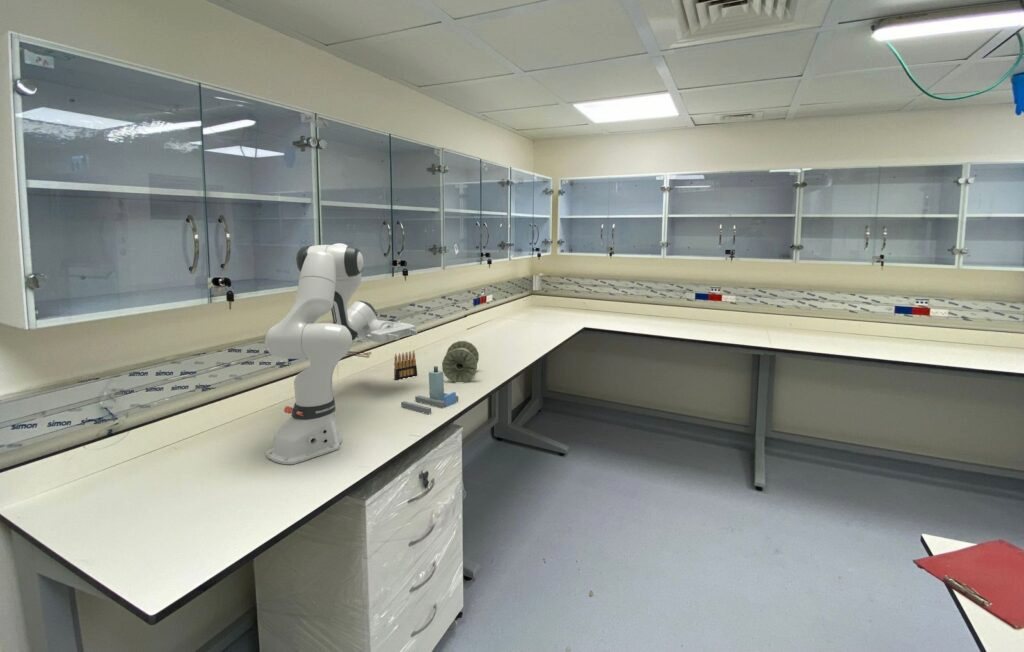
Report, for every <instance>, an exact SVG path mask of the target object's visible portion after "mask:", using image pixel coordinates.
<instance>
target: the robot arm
mask: <svg viewBox="0 0 1024 652" xmlns="http://www.w3.org/2000/svg"><path fill="white" fill-rule="evenodd" d="M295 262H296V265H297V269H298V271H299V273H300V274H299V279H298V285H297V291H296V295H295V299H294V301H293V304H292V306H291V309H290V311H288V313H287V314H286V315H285V316H284V317H283V319H281V321H279V322H278V323H276V324H274V325H273V326H271V327H270V329H268V331H267V333H266V335H265V338H264V339H265V340H264V341H265V342H264V343H265V348H266V349H267V351H268V353H269V354H270V355H271V356H272V357H275V358H281V359H285V360H286V359H287V360H300V359H301V360H309V367H308V368H306V369H304V370H302V371H300V372H299V373H298V374H296V376H295V378H294V380H293V387H294V388H293V389H294V397H295V400H294V401H295V402H294V404H293V407H291V406H287V405H286V406H285V407H284V409H283V412H285V413H286V414H289V415H290V414H291V417H290V418H289V419H288V420H287V421H286V422H285V423H284V424H283V425H282V426H281V427H280V428H279V429H278V430H277V432H276V433H275V435H274V437H273V438H274V439H273V447H271V448H269V449H267V450H266V451H265V452H266V454H265V455H266V457H267V459H269V460H270V459H271V460H270V461H273V462H275V463H279V464H282V465H295V464H298V463H301V462H305V461H307V460H311V459H313V458H317V457H319V456H322V455H325V454H328V453H329V454H330V453H332V452H335V451H338V450H339V449H340V444H341V443H342V441H343V438H342V435H341V433H340V430H339V427H338V423H337V422H338V421H337V417H336V409H337V408H336V402H335V401H336V400H335V397H334V396H333V393H334V392H333V375H334V372H335V369H336V367H337V365H338V363H339V362H340V361H341V360H342V359H343V358H344V357H345V356H347V354H349V352H350V351H351V349H352V344H353V341H355V340H356V338H357V337H358V338H361V339H364V340H369V341H372V342H375V343H389V342H390V341H393V340H395V341H398V340H400V339H401V338H404V337H407V336H416V335H417V336H418V331H417V327H416V325H415V324H412V323H408V322H407V323H406V322H402V321H400V320H391V321H390V320H381V319H378V315H377V312H376V310H375V308H374V306H373V305H372V304H371V303H369V302H367V301H364V300H356V301H354V302H353V303H352V304H351V305H350V307H348V305H349V302H350V300H351V298H352V297H353V295H354V294H355V292H356V291H357V289H358V288H359V286H360V285H361V282H362V271H363V267H364V257H363V253H362V251H361V250H360V249H358V247H356V246H351V245H347V244H346V243H342V242H341V243H334V244H317V245H311V244H309V245H305V246H301V247H300V249H298V251H297V253H296V261H295ZM329 312H331V317H332V321H333V322H316V321H317V320H318V319H320V318H321V317H323V316H325V315H327V314H329Z"/></svg>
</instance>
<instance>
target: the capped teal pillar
mask: <svg viewBox="0 0 1024 652" xmlns="http://www.w3.org/2000/svg"><path fill="white" fill-rule="evenodd" d="M444 377H445V376H444V372H443V370H439V367H438V365H437V366H436V365H435V366H433V370H431V371H428V389H429V393H430V396H429V398H432V399H436V400H441V401H443V400H444V398H443V396H444V393H445V383H444Z"/></svg>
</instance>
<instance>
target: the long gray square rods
mask: <svg viewBox="0 0 1024 652" xmlns="http://www.w3.org/2000/svg"><path fill="white" fill-rule="evenodd" d="M428 395H430V393H429V394H428ZM443 398H444V401H441V400H436V399H432V398H430V397H428V396H424V395H416V396H414V399H415V400H414V401H417V402H416V403H414V402H413V403H412V402H408V401H406V400H405V401H401V402H400V403H401V404H400V405H401V406H400V407H401V408H402V407H403V409H406V408H407V409H406V410H410V409H411V410H410V411H414V410H415V411H414V412H417V411H419V412H418V413H421V412H424V413H423V414H425V413H427V414H426V415H430V414H429V413H431V414H432V408H431V407H429V406H431V405H433V406H432V407H435V406H437V407H436V408H439V407H444V408H446V407H448V406H447V405H449V406H450V404H451V405H453V404H455V403H457V402H459V401H458V400H459V396H458V395H457V393H456V392H455V391H453V392H450V393H445V392H444V396H443ZM456 401H457V402H456ZM419 402H422V403H421V404H423V403H426V404H425V405H427V404H430V405H429V406H424V405H421V404H417V403H419ZM454 402H455V403H454ZM452 403H453V404H452ZM445 406H446V407H445Z"/></svg>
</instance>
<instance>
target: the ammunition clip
mask: <svg viewBox="0 0 1024 652" xmlns="http://www.w3.org/2000/svg"><path fill="white" fill-rule="evenodd" d="M393 371H394V372H393V373H394V376H393V378H394V380H395V381H400V380H399V379H401V380H404V379H403V378H405V379H409V378H408V377H410V378H413V376H415V377H417V376H418V368H417V359H416V353H415V350H412V351H409V352H408V351H406V352H405V353H404V352H402V354H401V353H400V352H399V353H398V355H397V354H396V353H395V354H394V368H393Z"/></svg>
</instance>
